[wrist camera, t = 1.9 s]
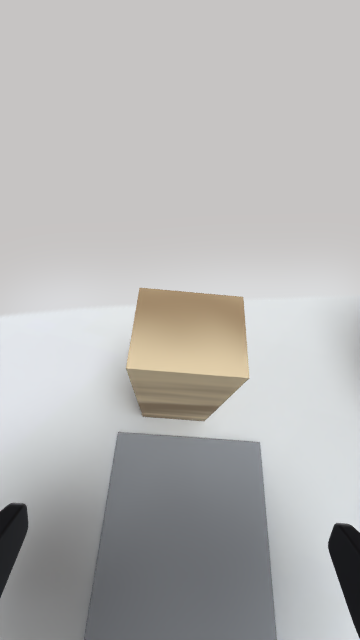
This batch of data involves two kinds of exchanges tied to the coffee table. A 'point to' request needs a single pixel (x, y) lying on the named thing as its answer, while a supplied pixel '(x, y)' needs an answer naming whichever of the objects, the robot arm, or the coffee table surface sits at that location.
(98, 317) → the coffee table surface
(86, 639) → the slate mat
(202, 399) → the oak block
